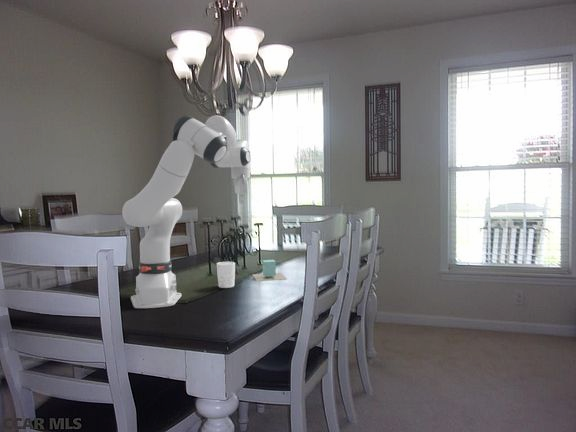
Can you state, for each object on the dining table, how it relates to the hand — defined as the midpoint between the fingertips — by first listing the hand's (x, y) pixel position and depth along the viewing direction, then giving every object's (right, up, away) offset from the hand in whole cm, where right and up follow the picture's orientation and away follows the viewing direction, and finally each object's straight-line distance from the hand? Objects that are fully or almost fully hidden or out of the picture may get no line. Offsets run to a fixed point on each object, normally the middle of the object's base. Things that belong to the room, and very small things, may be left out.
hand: (241, 203), depth 220 cm
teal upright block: (+14, -34, -6) cm, 37 cm away
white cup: (-4, -36, -24) cm, 44 cm away
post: (+13, -34, -6) cm, 37 cm away
